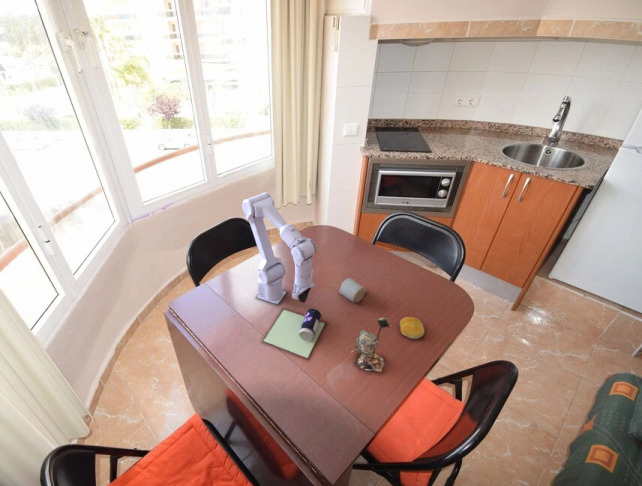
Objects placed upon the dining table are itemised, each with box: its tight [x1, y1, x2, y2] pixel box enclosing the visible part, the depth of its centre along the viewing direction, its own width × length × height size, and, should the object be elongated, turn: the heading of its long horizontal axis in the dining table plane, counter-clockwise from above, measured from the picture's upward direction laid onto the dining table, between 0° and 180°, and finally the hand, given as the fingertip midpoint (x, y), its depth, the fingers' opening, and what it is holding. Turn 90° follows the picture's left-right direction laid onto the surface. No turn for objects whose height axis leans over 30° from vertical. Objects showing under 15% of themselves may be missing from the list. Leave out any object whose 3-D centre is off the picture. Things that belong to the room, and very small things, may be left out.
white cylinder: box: [338, 277, 367, 304], centre depth 131 cm, size 11×8×8 cm
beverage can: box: [299, 307, 322, 341], centre depth 117 cm, size 6×6×12 cm
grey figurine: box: [350, 317, 391, 373], centre depth 102 cm, size 8×11×20 cm
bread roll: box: [399, 316, 425, 340], centre depth 116 cm, size 8×9×4 cm
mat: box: [263, 309, 325, 359], centre depth 118 cm, size 17×17×1 cm
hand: (302, 300), depth 118 cm, fingers closed
